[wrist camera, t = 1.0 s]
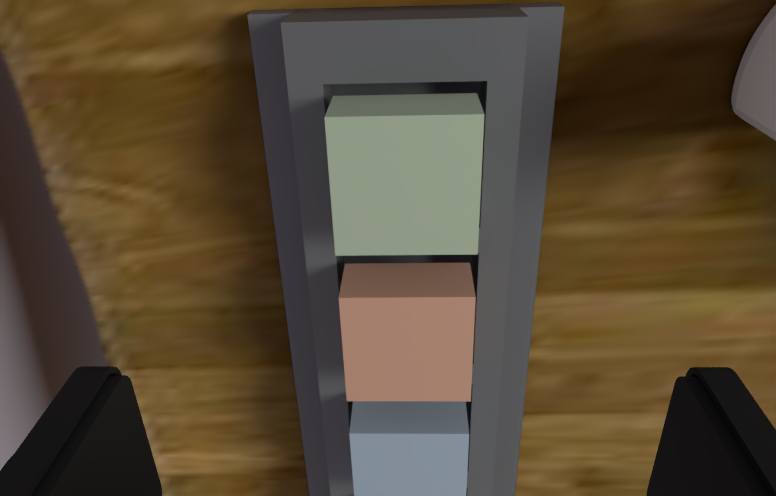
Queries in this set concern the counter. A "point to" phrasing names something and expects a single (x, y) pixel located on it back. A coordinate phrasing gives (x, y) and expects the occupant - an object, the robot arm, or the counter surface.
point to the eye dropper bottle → (758, 79)
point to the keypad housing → (489, 267)
